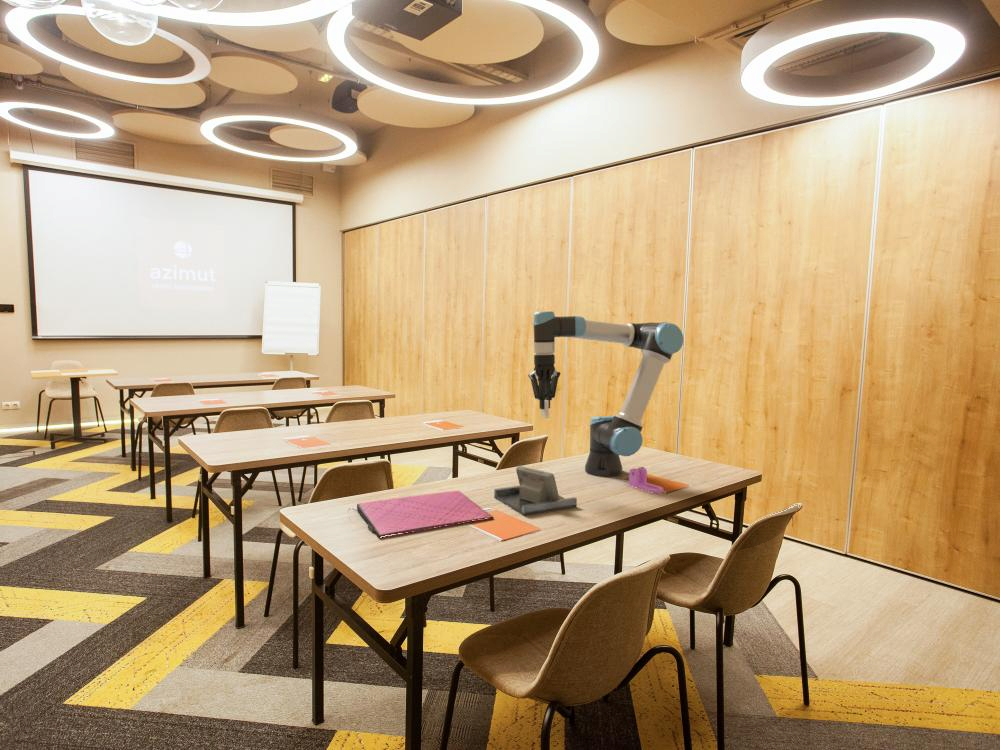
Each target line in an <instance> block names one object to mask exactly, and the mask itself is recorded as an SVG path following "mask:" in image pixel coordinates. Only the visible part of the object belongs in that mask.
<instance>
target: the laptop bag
mask: <svg viewBox="0 0 1000 750" xmlns="http://www.w3.org/2000/svg"><path fill="white" fill-rule="evenodd" d="M349 510H350V509H348V510H347V511H348V512H349ZM353 510H354V511H355V512H356V511H357V512H358V513H359V515H360V516H361V515H362V516H361V517H362V518H363V520H365V522H366V523H367V529H368V528H369V529H370V530H369V529H368V530H369V531H371V530H372V531H373V533H374V534H375V535H376V534H377V535H376V536H377V537H378V539H379V538H380V537H381V536H385V535H391V534H398V533H406V532H412V531H417V532H419V531H418V530H423V531H425V530H424V529H428V530H430V529H429V528H434V527H439V526H445V525H451V526H453V525H452V524H457V525H459V524H458V523H463V522H467V521H472V520H478V519H485V518H494V519H495V517H493V515H491V514H490V513H489V512H487V511H486V510H485V509H483V508H482V507H480V505H478V504H477V503H475V502H474V501H472V499H470V498H469V497H468V496H466V495H465V494H464V493H463V492H462V491H460V490H451V491H442V492H435V493H434V492H433V493H427V494H419V495H412V496H411V495H410V496H409V495H408V496H402V497H396V498H387V499H381V500H375V501H374V500H372V501H365V502H360V503H357V504H356V509H354V508H353ZM463 524H464V523H463ZM445 527H446V526H445ZM434 529H435V528H434ZM372 531H371V532H372ZM412 533H413V532H412Z"/></svg>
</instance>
